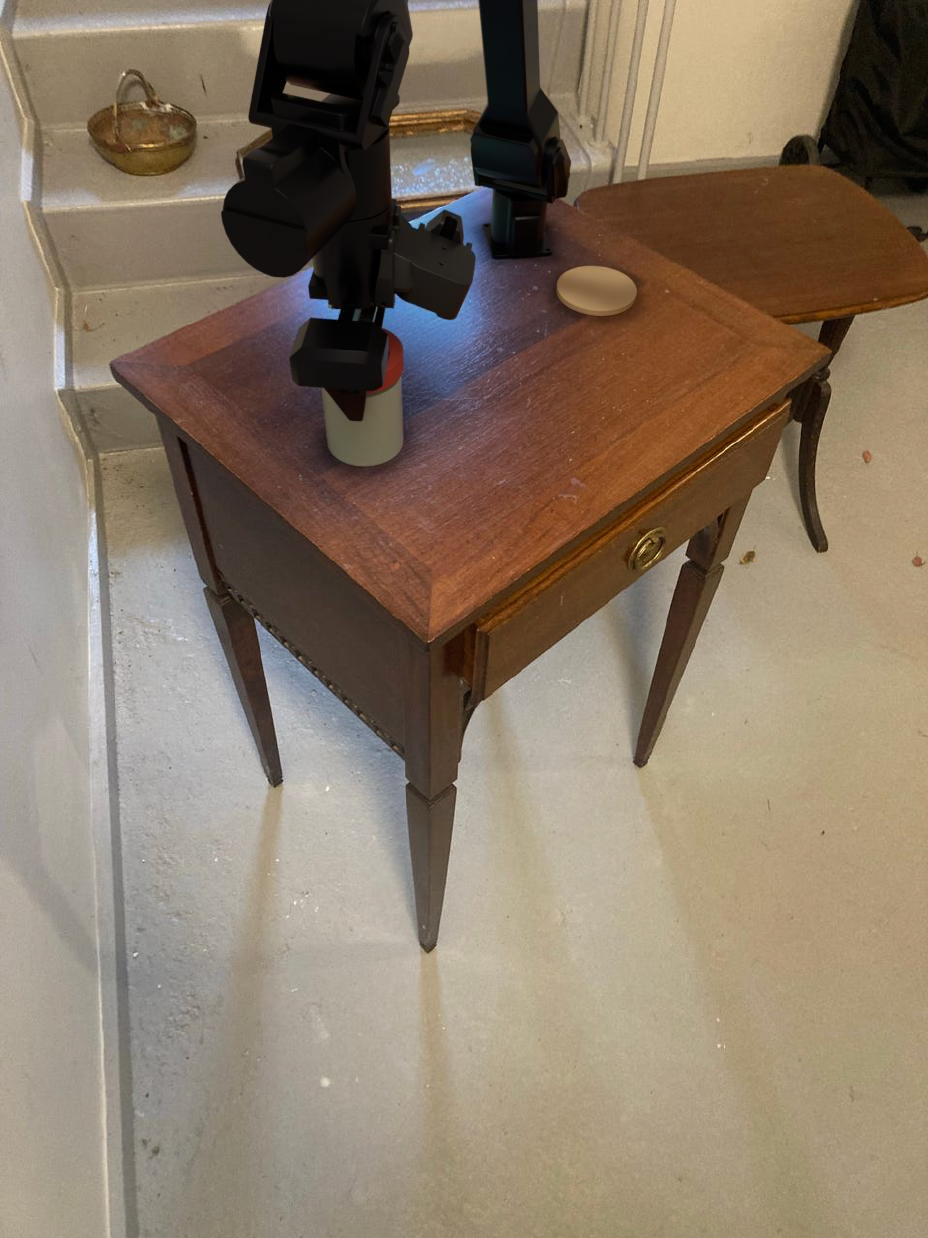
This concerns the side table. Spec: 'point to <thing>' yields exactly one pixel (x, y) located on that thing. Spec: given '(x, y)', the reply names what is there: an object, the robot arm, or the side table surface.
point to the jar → (366, 428)
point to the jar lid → (392, 362)
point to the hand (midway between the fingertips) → (363, 389)
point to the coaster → (596, 290)
